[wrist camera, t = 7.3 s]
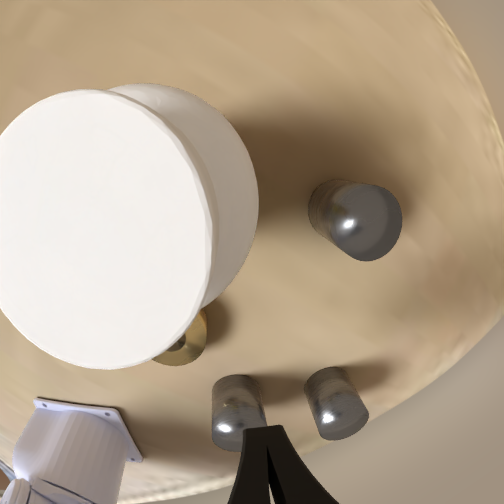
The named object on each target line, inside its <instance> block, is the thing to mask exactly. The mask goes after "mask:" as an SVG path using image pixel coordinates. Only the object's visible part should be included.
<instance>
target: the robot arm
mask: <svg viewBox="0 0 504 504" xmlns="http://www.w3.org/2000/svg"><path fill="white" fill-rule="evenodd" d="M33 402H34V404H35V406H36V409H35V411H34V413H33V414H32V416H31V418H30V420H29V421H28V423H27V425H26V427H25V428H24V430H23V432H22V434H21V436H20V437H19V439H18V441H17V443H16V445H15V447H14V451H13V458H12V461H13V469H14V472H15V475H16V477H17V479H14V480H12V481H11V483H10V484H9V486H8V487H7V489H6V491H5V493H4V495H3V497H2V499H1V501H0V504H117V499H118V494H119V490H120V485H121V480H122V476H123V471H124V467H125V462H126V461H130V462H142V461H143V457H142V456H141V454H140V452H139V450H138V449H137V447H136V445H135V443H134V441H133V439H132V437H131V436H130V434H129V432H128V430H127V428H126V426H125V424H124V422H123V420H122V418H121V416H120V414H119V412H118V411H117V410H116V409H114V408H104V407H94V406H85V405H77V404H70V403H63V402H57V401H51V400H45V399H40V398H34V400H33ZM269 484H270V488H271V492H272V495H273V498H274V502H275V504H339V503H338V502H337V501H336V500H335V499H334V498H333V497H332V496H331V495H330V494H329V493H328V492H327V491H326V490H325V489H324V488H323V487H322V485H321V484H320V483H319V482H318V481H317V480H316V478H315V477H314V476H313V475H312V474H311V472H310V471H309V469H308V468H307V467H306V465H305V464H304V463H303V461H302V460H301V458H300V457H299V455H298V454H297V452H296V451H295V449H294V447H293V446H292V444H291V442H290V440H289V438H288V436H287V434H286V432H285V430H284V428H283V426H282V425H274V426H266V427H257V428H247V429H244V430H243V443H242V452H241V458H240V463H239V467H238V471H237V476H236V479H235V483H234V486H233V489H232V492H231V495H230V498H229V501H228V504H271V503H270V495H269Z"/></svg>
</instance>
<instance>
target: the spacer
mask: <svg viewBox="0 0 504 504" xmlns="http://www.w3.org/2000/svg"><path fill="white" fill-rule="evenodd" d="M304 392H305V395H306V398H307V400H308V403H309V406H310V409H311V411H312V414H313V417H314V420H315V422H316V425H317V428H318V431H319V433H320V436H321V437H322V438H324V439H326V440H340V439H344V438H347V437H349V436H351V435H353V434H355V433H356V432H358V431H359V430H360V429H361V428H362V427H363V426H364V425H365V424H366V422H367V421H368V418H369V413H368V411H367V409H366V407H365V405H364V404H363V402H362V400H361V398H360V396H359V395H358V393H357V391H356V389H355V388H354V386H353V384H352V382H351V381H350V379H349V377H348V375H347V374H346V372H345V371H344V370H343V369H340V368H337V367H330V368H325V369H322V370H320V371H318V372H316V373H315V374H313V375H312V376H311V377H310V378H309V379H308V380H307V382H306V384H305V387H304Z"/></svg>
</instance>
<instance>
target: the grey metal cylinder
mask: <svg viewBox="0 0 504 504" xmlns="http://www.w3.org/2000/svg"><path fill="white" fill-rule="evenodd" d="M308 214H309V219H310V222H311V224H312V226H313V227H314V229H315V230H316V231H317V232H318V233H319V234H321V235H322V236H323V237H325V238H326V239H327V240H329V241H330V242H332V243H333V244H334V245H336V246H337V247H338V248H340V249H341V250H342V251H344V252H345V253H346V254H348V255H349V256H351V257H352V258H354V259H356V260H360V261H373V260H376V259H379V258H381V257H383V256H384V255H386V254H387V253H388V252H389V251H390V250H391V249H392V248H393V246H394V245H395V244H396V242H397V240H398V238H399V235H400V232H401V228H402V213H401V209H400V206H399V203H398V202H397V200H396V198H395V197H394V196H393V195H392V194H391V193H390V192H389V191H388V190H386V189H385V188H382V187H379V186H375V185H369V184H363V183H357V182H350V181H344V180H331V181H327V182H325V183H323V184H322V185H320V186H319V187H318V188H317V189H316V190H315V191H314V193H313V194H312V196H311V199H310V202H309V206H308Z"/></svg>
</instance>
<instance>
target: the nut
mask: <svg viewBox="0 0 504 504" xmlns="http://www.w3.org/2000/svg"><path fill="white" fill-rule="evenodd" d="M206 335H207V317H206V314H205V311H204V310H203V308H202V309H200V311H199V313H198V315H197V316H196V318H195V320H194V321H193V323H192V324H191V326H190V327H189V328H188V329H187V331H186V332H185V333H184V334H183V335H182V337H181V338H180V339H178V340H177V341H176V342H175V343H174V344H173V345H172V346H171V347H170V348H168V349H167V350H166V351H164V352H163V353H161V354H160V355H158V356H156V357H154V358H152V360H154V361H156V362H158V363H161V364H164V365H169V366H180V365H185V364H188V363H190V362H193V361H194V360H196V359H197V358H198V357H199V356H200V355H201V354H202V352H203V350H204V348H205V345H206Z"/></svg>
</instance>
